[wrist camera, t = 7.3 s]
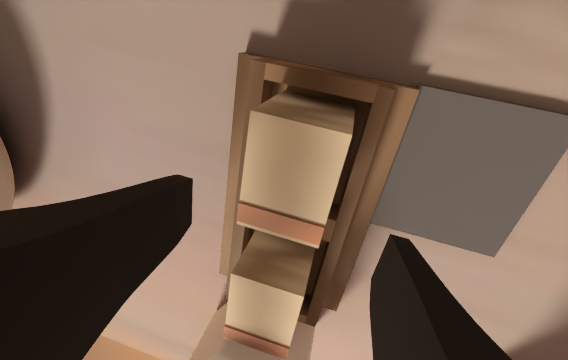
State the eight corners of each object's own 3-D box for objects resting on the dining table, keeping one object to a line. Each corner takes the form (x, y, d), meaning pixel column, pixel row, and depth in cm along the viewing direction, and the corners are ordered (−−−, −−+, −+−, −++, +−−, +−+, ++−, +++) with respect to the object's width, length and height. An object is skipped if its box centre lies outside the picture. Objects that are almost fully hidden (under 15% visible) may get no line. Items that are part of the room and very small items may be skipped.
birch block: (355, 105, 16) (352, 135, 10) (330, 189, 18) (318, 250, 13) (286, 89, 16) (249, 110, 11) (271, 173, 19) (235, 225, 14)
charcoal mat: (580, 117, 14) (586, 119, 14) (490, 252, 19) (493, 257, 18) (417, 84, 16) (419, 85, 15) (367, 218, 20) (368, 222, 19)
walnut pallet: (416, 87, 16) (427, 96, 13) (337, 301, 24) (334, 333, 21) (245, 52, 17) (223, 53, 14) (224, 265, 25) (208, 291, 22)
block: (319, 230, 20) (303, 298, 14) (303, 285, 22) (285, 361, 17) (264, 214, 20) (230, 274, 15) (255, 270, 23) (222, 339, 18)
